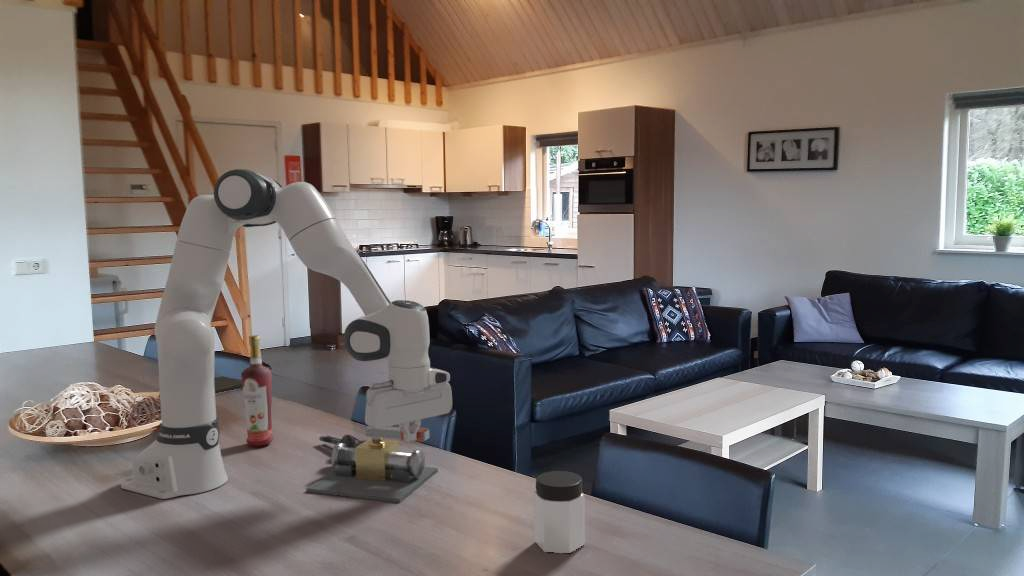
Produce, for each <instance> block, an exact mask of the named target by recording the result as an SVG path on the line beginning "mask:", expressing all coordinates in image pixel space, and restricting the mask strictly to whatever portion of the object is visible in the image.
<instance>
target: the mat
mask: <svg viewBox="0 0 1024 576" xmlns="http://www.w3.org/2000/svg"><path fill="white" fill-rule="evenodd" d="M438 469H439V468H438V467H432V466H431V467H430V466H424V469H423V472H422V474H421V475H420V476H419V477H417V478H415V479H414V480H413V481H412V482H410V483H401V482H393V481H392V477H391V478H390V479H388V480H387V481H386V482H383V481H374V480H364V479H356V475H354V476H353V477H344V476H336V474H335V469H334V470H333V471H332V472H330V473H327V475H325V476H324V477H322V478H320V479H319V480H317V481H315V482H314V483H312V484H311V485H309V486H308V487H306V488H305V489H306V493H311V492H312V494H320V493H322V494H321V495H329V494H333V495H332V496H337V495H340V496H339V497H346V496H348V498H355V497H356V498H358V499H363V498H365V499H364V500H372V501H381V500H382V502H383V501H384V502H390V503H391V502H392V503H402V502H403V501H405V499H406V498H408V497H409V496H411V494H413V493H414V492H415V491H416V490H417V489H419V487H421V486H422V485H423V484H424V483H426V482H427V481H428V480H429V479H430V478H431V477H433V476H434V475H435V474H437V472H439V471H438ZM401 501H402V502H401Z"/></svg>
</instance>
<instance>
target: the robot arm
mask: <svg viewBox="0 0 1024 576" xmlns="http://www.w3.org/2000/svg"><path fill="white" fill-rule="evenodd" d="M276 223H277V224H278V225H279V226H280V227H281V229H282V230H283V233H284V235H285V236H286V238H287V239H288V241H289V244H290V245H291V247H292V249H293V251H294V253H295V255H296V256H297V257H298V259H299V260H300V261H301V262H302V264H303V265H304V266H305V267H306V268H308V269H309V270H311V271H314V272H317V273H320V274H323V275H327V276H328V277H331V278H334V279H336V281H337V280H338V281H339V282H341V283H342V284H343V285H344V286H345V287H346V288H347V289H348V291H349V292H350V294H351V295H352V297H353V298H354V300H355V302H356V303H357V305H358V307H359V308H360V310H361V311H362V312H363V315H362V316H361V317H358V318H355V319H354V320H352V321H351V322H350V323H349V324H348V325H347V326H346V327H345V329H344V333H343V344H344V347H345V350H346V351H347V353H348V354H349V355H350V357H352V358H353V359H355V360H356V361H359V362H373V361H377V360H382V359H383V360H386V361H387V375H388V377H387V380H386V381H383V382H376V383H372V385H371V386H370V387H369V388H367V390H366V393H365V396H366V397H365V398H366V400H365V401H366V403H365V412H364V413H365V415H364V422H365V423H364V424H366V425H367V427H371V428H373V429H380V428H385V427H395V426H397V425H398V427H400V429H401V430H402V432H403V433H404V440H403V441H404V442H405V443H411V442H416V441H415V440H416V439H417V431H418V429H419V427H421V425H422V420H424V419H427V418H432V417H437V416H442V415H446V414H450V412H451V410H452V408H453V395H452V394H453V392H452V386H451V385H450V383H449V382H450V381H451V375H450V373H449V372H447V371H445V370H442V369H439V368H435V367H433V366H431V361H430V360H431V359H430V357H429V347H430V342H431V339H430V338H431V337H430V324H429V323H430V322H429V316H428V313H427V309H426V308H425V306H423V305H422V304H421V303H419V302H416V301H413V300H412V301H411V300H403V299H398V300H392V301H391V300H390V299H389V298H388V296H387V295H386V293H385V292H384V290H383V288H382V287H381V285H380V283H379V282H378V280H377V279H376V278H375V276H374V275H373V272H372V271H371V270H370V268H369V267H368V265H367V264H366V263H365V261H364V260H363V258H362V257H361V256H360V254H359V253H358V252H357V250H356V249H355V247H354V246H353V245H352V243H351V242H350V241H349V239H348V237H347V235H346V233H345V231H344V230H343V228H342V227H341V225H340V223H339V221H338V220H337V218H336V215H335V214H334V212H333V211H332V209H331V208H330V206H329V204H328V203H327V201H326V200H325V198H324V197H323V196H322V195H321V193H320V192H319V191H318V190H317V188H316V187H315V186H314V185H313V184H311V183H308V182H307V181H296V182H292V183H289V184H287V185H285V186H282V185H281V184H280V183H279V182H277V181H276V180H274V179H272V178H271V177H269V176H267V175H265V174H263V173H261V172H254V171H252V170H250V169H249V170H248V169H245V168H244V169H243V168H236V169H231V170H229V171H227V172H224V173H223V174H221V176H220V177H218V179H217V181H216V182H215V184H214V188H213V194H202V195H198V196H195V197H194V198H192V199H191V200H190V202H189V204H188V206H187V208H186V210H185V213H184V215H183V217H182V220H181V224H180V225H179V230H178V233H177V237H176V240H175V244H174V249H173V253H172V259H171V262H170V267H169V272H168V275H167V279H166V282H165V283H166V284H165V286H164V290H163V293H162V298H161V300H160V303H159V304H160V305H159V308H158V311H157V316H156V321H155V324H154V336H155V340H156V348H157V349H156V351H157V363H158V385H159V386H158V387H159V401H160V402H159V403H160V414H161V416H160V417H161V423H159V424H158V425H155V426H152V427H151V429H153V430H152V431H151V433H156V432H157V433H156V437H155V440H154V441H153V442H151V443H150V445H148V446H147V447H146V448H145V449H144V450H142V451H141V452H140V453H138V455H136V456H135V458H134V460H133V463H132V475H130V476H128V477H127V478H125V479H124V480H122V482H121V484H120V488H121V489H124V490H127V491H130V492H134V493H138V494H142V495H146V496H149V497H154V498H158V499H160V500H161V499H162V500H165V499H166V500H167V499H171V498H176V497H179V496H185V495H186V496H187V495H194V494H200V493H204V492H208V491H211V490H214V489H216V488H217V489H218V488H220V487H221V486H222V485H224V484H225V483H227V482H228V481H229V475H228V473H227V472H226V471H227V470H226V467H225V465H224V461H223V456H222V452H221V446H220V441H219V439H220V421H219V417H218V416H217V407H216V406H217V405H216V395H215V387H214V378H215V333H214V329H213V326H212V325H211V324H212V320H213V315H214V312H215V308H216V306H217V303H218V300H219V295H220V294H221V292H222V290H223V289H222V288H223V285H224V281H225V278H226V277H225V276H226V272H227V267H228V263H229V258H230V255H231V250H232V245H233V240H234V237H235V234H236V233H237V230H238V229H239V228H240V227H244V228H253V227H255V228H256V227H266V226H267V227H268V226H270V225H274V224H276ZM410 424H411V426H410ZM407 427H411V428H410V431H409V430H408V428H407Z"/></svg>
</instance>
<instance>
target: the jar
mask: <svg viewBox="0 0 1024 576" xmlns="http://www.w3.org/2000/svg"><path fill="white" fill-rule="evenodd" d="M585 497H586V495H585V494H584V493H583V478H582V477H581V476H580V475H579V474H578V473H575V472H571V471H566V470H551V471H547V472H543V473H541V474H539V475H538V476H536V479H535V491H534V492H533V502H534V503H533V504H534V505H533V506H534V509H533V512H534V513H533V514H534V542H535V544H537V545H538V547H539V548H540V549H541V550H542V552H544V553H547V552H554V553H553V554H563V553H571V552H572V553H574V552H575V551H577V550H578V548H579V549H580V548H582V547H583V545H584V546H585V545H586V518H585V517H586V513H585V512H586V505H585V499H586V498H585ZM581 546H582V547H581ZM576 549H577V550H576ZM573 551H574V552H573ZM572 553H571V554H572Z"/></svg>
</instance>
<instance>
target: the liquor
mask: <svg viewBox="0 0 1024 576" xmlns="http://www.w3.org/2000/svg"><path fill="white" fill-rule="evenodd" d="M248 340H249V342H248V344H249V348H250V355H249V356H250V358H249V366H247V368H245V369H244V370H243V371H242V372H241V375H240V376H241V380H242V386H243V389H242V394H243V402H244V409H245V420H246V421H245V422H246V433H247V438H246V440H245V441H246V443H247V444H248V445H249V446H251V447H253V448H262V447H265V446H266V447H267V446H269V445H270V444H271V443H272V442H273V441H274V439H275V436H274V435H273V420H272V419H273V415H272V414H273V413H272V412H273V410H272V406H273V405H272V401H273V396H272V395H273V385H272V384H273V383H272V382H273V381H272V377H273V376H272V375H273V374H272V373H273V372H272V369H270V368H269V367H268V366H264V365H263V362H262V361H263V360H262V354H261V335H258V334H256V335H250V336H248Z"/></svg>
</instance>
